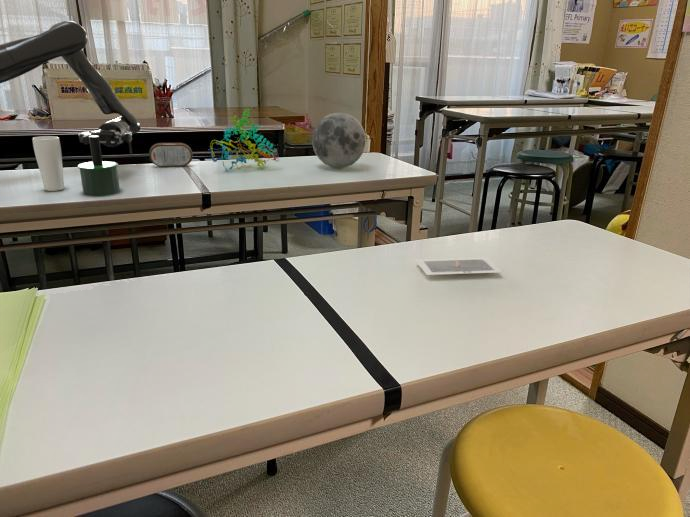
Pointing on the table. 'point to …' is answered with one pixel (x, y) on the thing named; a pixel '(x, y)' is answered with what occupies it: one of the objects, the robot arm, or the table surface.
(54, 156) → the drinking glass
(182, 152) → the tin
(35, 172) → the table surface
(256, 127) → the molecular model
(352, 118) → the moon model
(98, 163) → the tin lid
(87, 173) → the can
